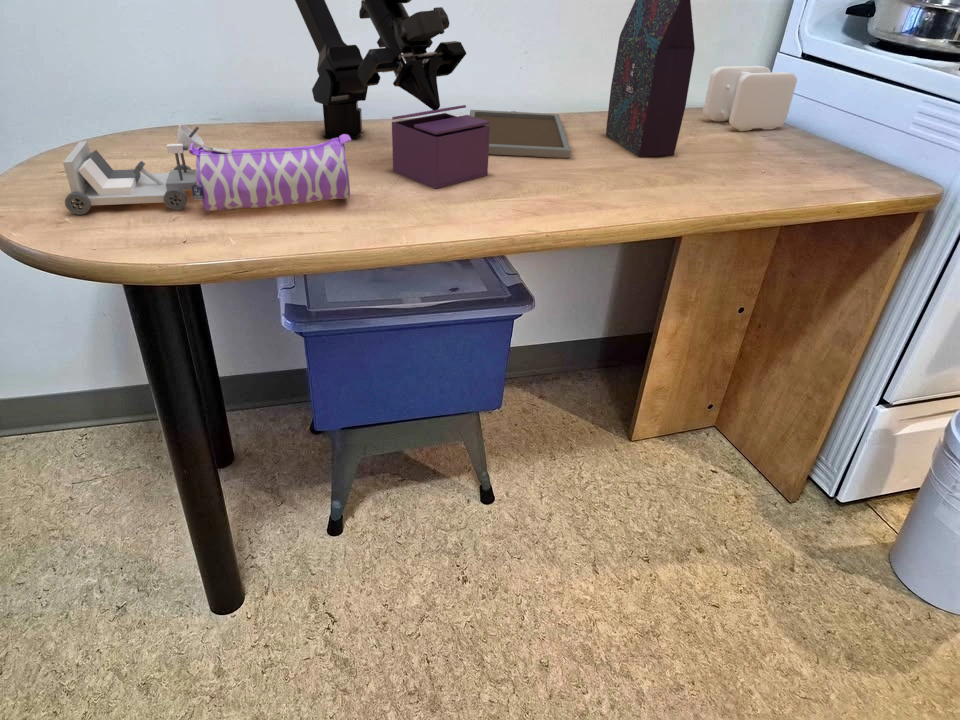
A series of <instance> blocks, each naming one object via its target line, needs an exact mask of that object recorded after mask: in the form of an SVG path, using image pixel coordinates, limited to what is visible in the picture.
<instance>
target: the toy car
mask: <svg viewBox="0 0 960 720" xmlns="http://www.w3.org/2000/svg"><path fill="white" fill-rule="evenodd" d="M199 129H200V127H199V126H196V127H195V128H194V129H191V128H189V126H187V125H184V124H182V123H179V125H178V129H177V135H176V143H167V145H166V150H167V154H174V156H175V161H176V166H175V167H174V168H173V169H171V170H170V171H169V172H154V173H153V172H152V173H151V172H149V171H148V170H147V169H145V168H144V167H145V165H146V162H144V161H143V160H140V161H139V163H137V165H136V166H135V167H134V168H133V169H131V168H130V169H113V168H112V167H111V165H110V164H109V163H108V162H107V161H106V159H105V158H104V157H103V156H102V154H100V152H99V151H98V150H97V149H95V150H93V151H91V150H90V145H89V143H88V140H80V141H78V143H76V145H75V146H74V147H73V149H72V150H71V151H70V153H69V154H68V156H66V158H65V159H64V160H63V161H62V164H63V168H64V171H65V174H66V178H67V181H68V185H69V189H70V191H71V192H70V193H68V195H67V196H66V197H65V199H64V206H65V207H66V209H67V210H68V211H69V212H70V213H72V214H74V215H78V216H80V215H81V216H82V215H85V214H87V213H88V212H89V211H90V210H91V207H92V206H109V205H110V206H112V205H132V204H150V203H151V204H156V203H158V204H159V203H164V204H165V206H166V207H167V208H169V209H170V210H172V211H181V210H183V209H185V207H186V206H187V204H188V196H187V194H186V193H185V191H186V190H191V191H192V185H197V179H196V168H195V169H193V168H191V167H190V166H189V165H187V164H186V161H185V155H184V153H185V151H189V148H190V144H191V143H192V142H193V143H194V146H193V147H194V148H197V149H198V148H199V147H200V146H202V147H203V146H205V142H204V140H202V138H201V136H200V135H198V134H197V133H198V130H199ZM179 154H180V156H179ZM180 159H181V161H180ZM195 188H197V187H195Z"/></svg>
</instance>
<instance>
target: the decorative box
mask: <svg viewBox="0 0 960 720" xmlns="http://www.w3.org/2000/svg"><path fill="white" fill-rule="evenodd" d="M694 35H695V34H694V23H693V13H692V3H691V0H634V2H633V4H632V7H631V9H630V11H629V13H628V16H627V18H626V20H625V22H624V25H623V27H622V29H621V31H620V33H619V38H618V44H617V49H616V55H615V61H614V68H613V73H612V80H611V86H610V93H609V102H608V112H607V119H606V128H605V136H606V137H607V138H610V140H612V141H614V142H616V143H617V144H619V145H620V146H622V147H623V148H625V149H626V150H628V151H630V152H631V153H633V154H634V155H636V156H637V157H639V158H643V157H664V156H666V157H667V156H674V155H675V152H676V148H677V143H678V139H679V135H680V132H681V127H682V122H683V119H684V114H685V110H686V107H687V106H686V105H687V101H688V94H689V88H690V83H691V76H692V70H693V69H692V68H693V63H694V56H695V51H696V46H695V36H694Z"/></svg>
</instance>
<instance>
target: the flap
mask: <svg viewBox="0 0 960 720" xmlns="http://www.w3.org/2000/svg"><path fill="white" fill-rule="evenodd" d="M465 108H467V105H466V104H463V105H455V106H449V107H442V108H439V109H438V110H432V109H430V110H425V111H420V112H413V113H407V114H402V115H396V116H392V117H391V119H392V121H393V120H402V119H406V118H407V119H409V118H416V117H422V116H427V115H433V114H439V113H444V112H449V111H454V110H460V109H465Z"/></svg>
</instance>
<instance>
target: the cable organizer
mask: <svg viewBox="0 0 960 720" xmlns="http://www.w3.org/2000/svg"><path fill="white" fill-rule="evenodd" d="M797 83H798V78H797V75H796V74H795V73H791V72H788V71H778V72H777V71H775V72H771V69H770V68H769V67H767V66H763V65H730V66H727V65H725V66H722V65H721V66H717V67H716V68H714V69H713V70H712V71H711V74H710V75H709V81H708V86H707V90H706V95H705V100H704V104H703V109H702V114H703V116H704V117H705V118H707V119H710V120H711V121H713V122H726V121H727V120H728V123H729V126H730V127H732V128H734V129H736V131H738V132H745V131H752V130H753V129H761V130H765V131H766V130H775V129H776V128H779V127H781V126H783V125H784V123H785V122H786V121H787V118H788V115H789V113H790V112H789V111H790V109H791V104H792V101H793V96H794V93H795V90H796V86H797Z"/></svg>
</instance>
